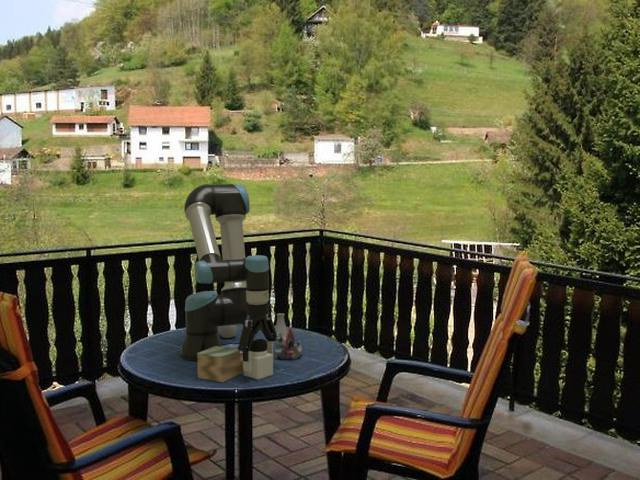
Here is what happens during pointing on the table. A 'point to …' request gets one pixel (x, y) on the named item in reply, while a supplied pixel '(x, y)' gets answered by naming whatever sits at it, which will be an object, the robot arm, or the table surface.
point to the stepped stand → (219, 363)
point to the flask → (281, 325)
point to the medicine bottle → (260, 360)
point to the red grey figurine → (288, 346)
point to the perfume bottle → (228, 331)
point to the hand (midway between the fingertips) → (258, 365)
